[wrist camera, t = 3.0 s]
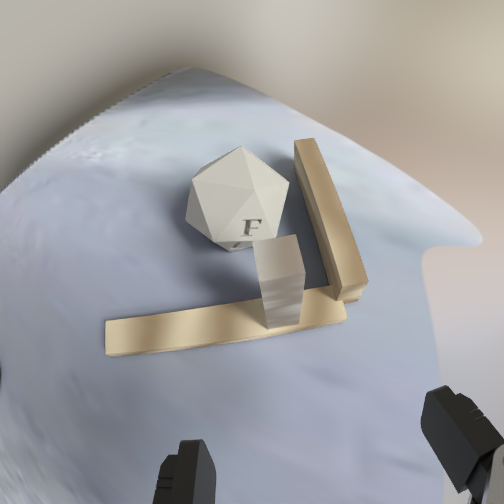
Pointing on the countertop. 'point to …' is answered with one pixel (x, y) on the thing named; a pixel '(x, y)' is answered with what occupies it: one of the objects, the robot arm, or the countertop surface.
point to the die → (236, 200)
